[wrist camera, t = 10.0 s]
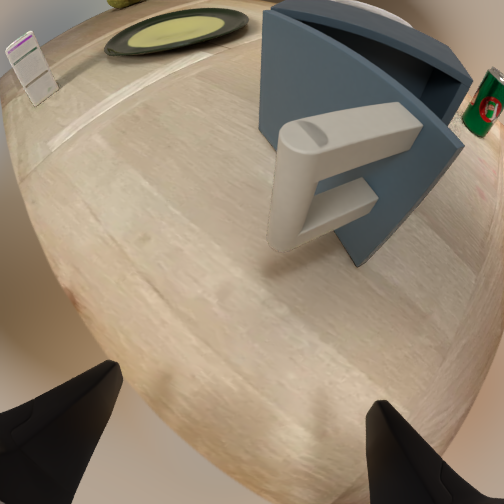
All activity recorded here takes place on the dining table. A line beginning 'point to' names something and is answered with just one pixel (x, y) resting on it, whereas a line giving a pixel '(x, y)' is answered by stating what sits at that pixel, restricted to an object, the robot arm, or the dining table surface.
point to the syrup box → (31, 68)
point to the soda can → (485, 103)
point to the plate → (175, 31)
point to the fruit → (121, 3)
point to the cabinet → (390, 50)
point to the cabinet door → (342, 142)
